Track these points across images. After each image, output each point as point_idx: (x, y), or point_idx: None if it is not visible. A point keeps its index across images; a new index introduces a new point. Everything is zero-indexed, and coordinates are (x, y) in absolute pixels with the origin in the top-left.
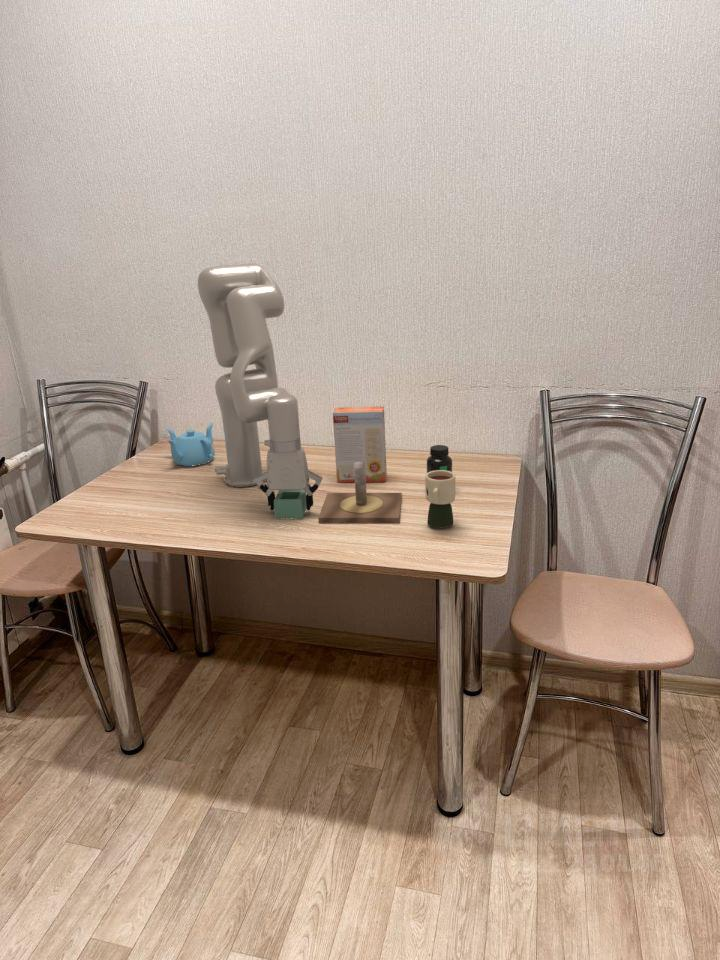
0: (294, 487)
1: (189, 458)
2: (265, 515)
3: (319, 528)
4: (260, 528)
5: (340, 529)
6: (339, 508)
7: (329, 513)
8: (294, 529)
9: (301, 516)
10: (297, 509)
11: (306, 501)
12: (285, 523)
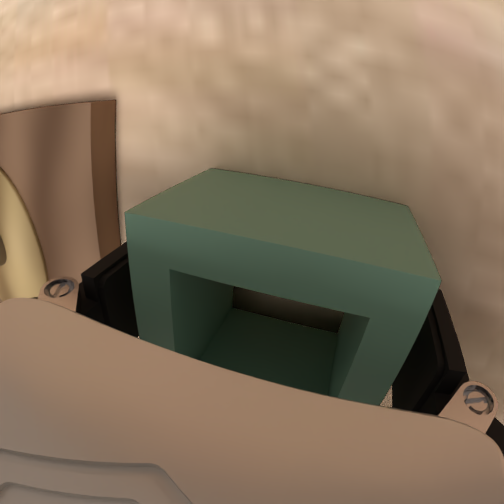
0: (84, 345)
1: None
2: (462, 280)
3: (109, 35)
4: (500, 72)
5: (39, 45)
6: (36, 221)
7: (53, 162)
8: (251, 6)
9: (209, 173)
10: (209, 192)
11: (126, 258)
12: (329, 109)
